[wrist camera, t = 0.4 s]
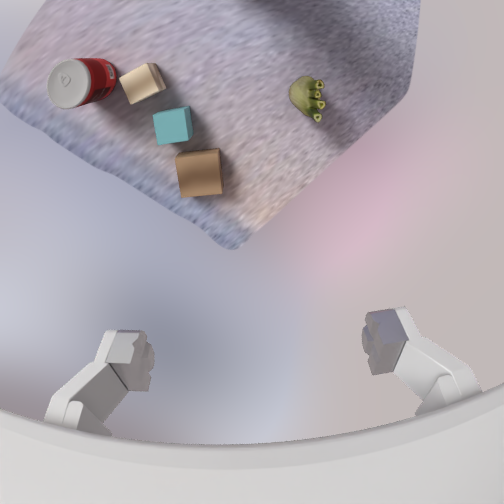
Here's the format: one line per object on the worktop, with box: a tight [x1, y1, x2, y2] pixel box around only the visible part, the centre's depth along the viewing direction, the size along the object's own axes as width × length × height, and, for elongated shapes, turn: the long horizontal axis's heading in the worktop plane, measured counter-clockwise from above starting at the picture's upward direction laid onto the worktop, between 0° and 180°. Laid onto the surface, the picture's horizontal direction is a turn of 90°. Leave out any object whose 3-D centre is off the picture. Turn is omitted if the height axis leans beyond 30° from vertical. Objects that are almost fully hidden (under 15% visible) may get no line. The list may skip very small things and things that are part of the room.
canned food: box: [47, 58, 117, 109], centre depth 37 cm, size 8×8×11 cm
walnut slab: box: [175, 148, 223, 198], centre depth 51 cm, size 7×7×4 cm
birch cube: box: [119, 63, 166, 104], centre depth 41 cm, size 5×5×5 cm
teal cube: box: [153, 106, 193, 145], centre depth 45 cm, size 5×5×5 cm
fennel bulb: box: [289, 76, 326, 122], centre depth 40 cm, size 6×5×12 cm
